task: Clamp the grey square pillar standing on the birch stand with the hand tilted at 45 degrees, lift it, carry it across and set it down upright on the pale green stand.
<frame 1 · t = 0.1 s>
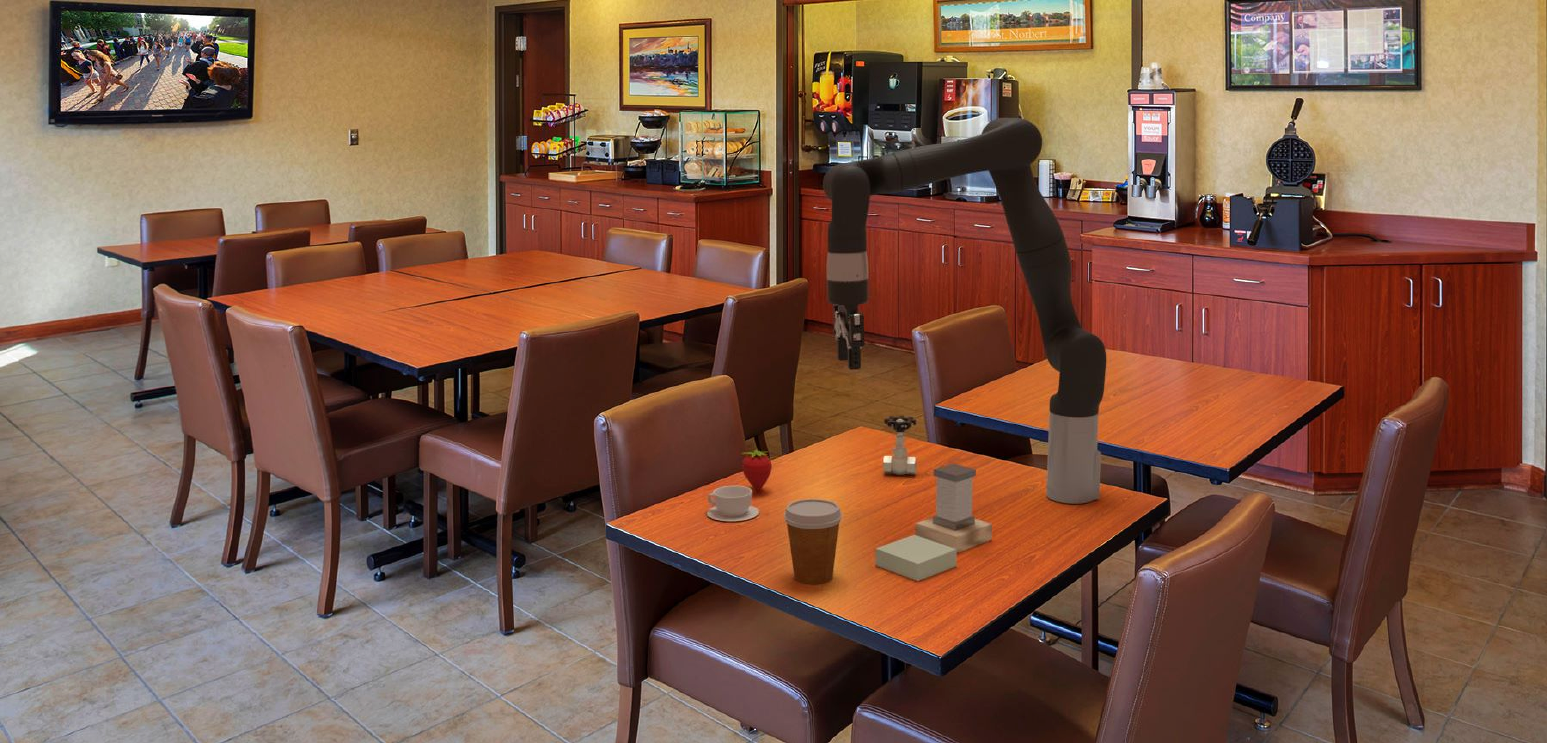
hand: (848, 364, 219), 29 cm above the table, tool pointing down, fingers open, 8 cm apart
teacup: (733, 515, 227), on the table
disposable coffee cup: (813, 578, 196), on the table
stand b: (915, 565, 200), on the table
stand a: (953, 539, 212), on the table
strawberry: (757, 492, 240), on the table
valve: (899, 475, 249), on the table
grey square pillar: (953, 523, 211), point 3 cm above the table, touching stand a
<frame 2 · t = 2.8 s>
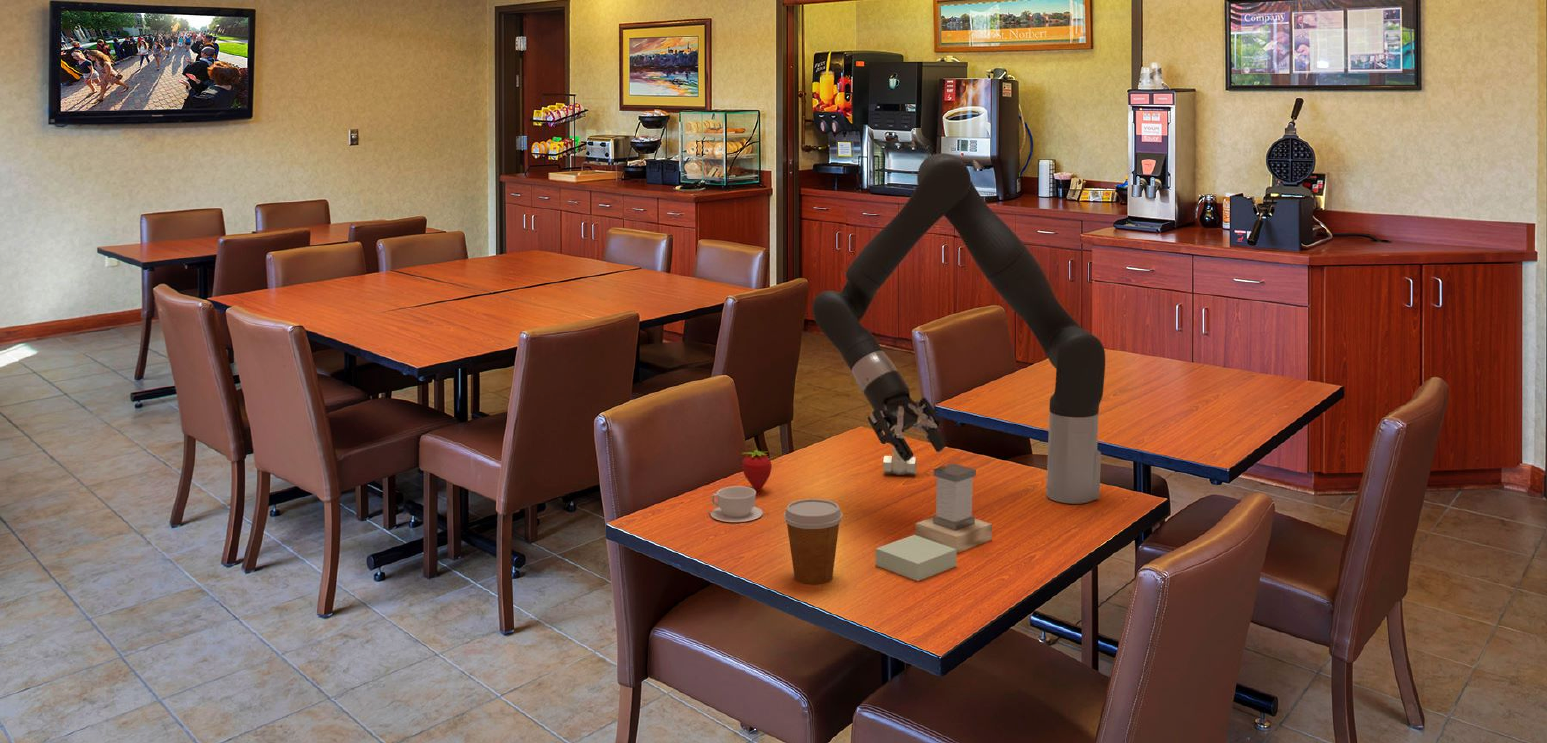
hand: (926, 454, 214), 14 cm above the table, tool tilted 45°, fingers open, 8 cm apart
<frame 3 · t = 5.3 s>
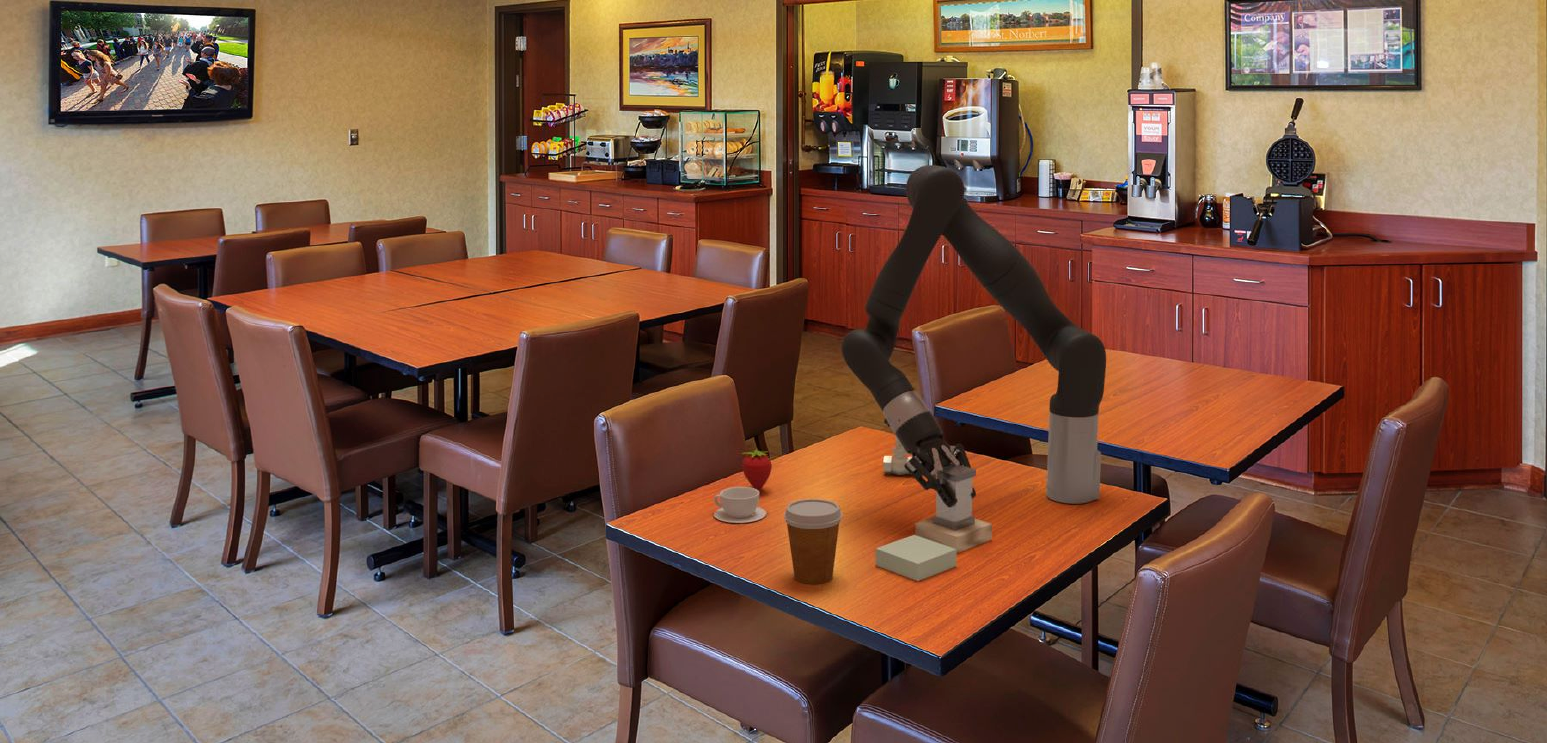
hand: (962, 501, 209), 8 cm above the table, tool tilted 45°, fingers closed on grey square pillar, 4 cm apart
grey square pillar: (953, 523, 211), point 3 cm above the table, touching gripper, stand a
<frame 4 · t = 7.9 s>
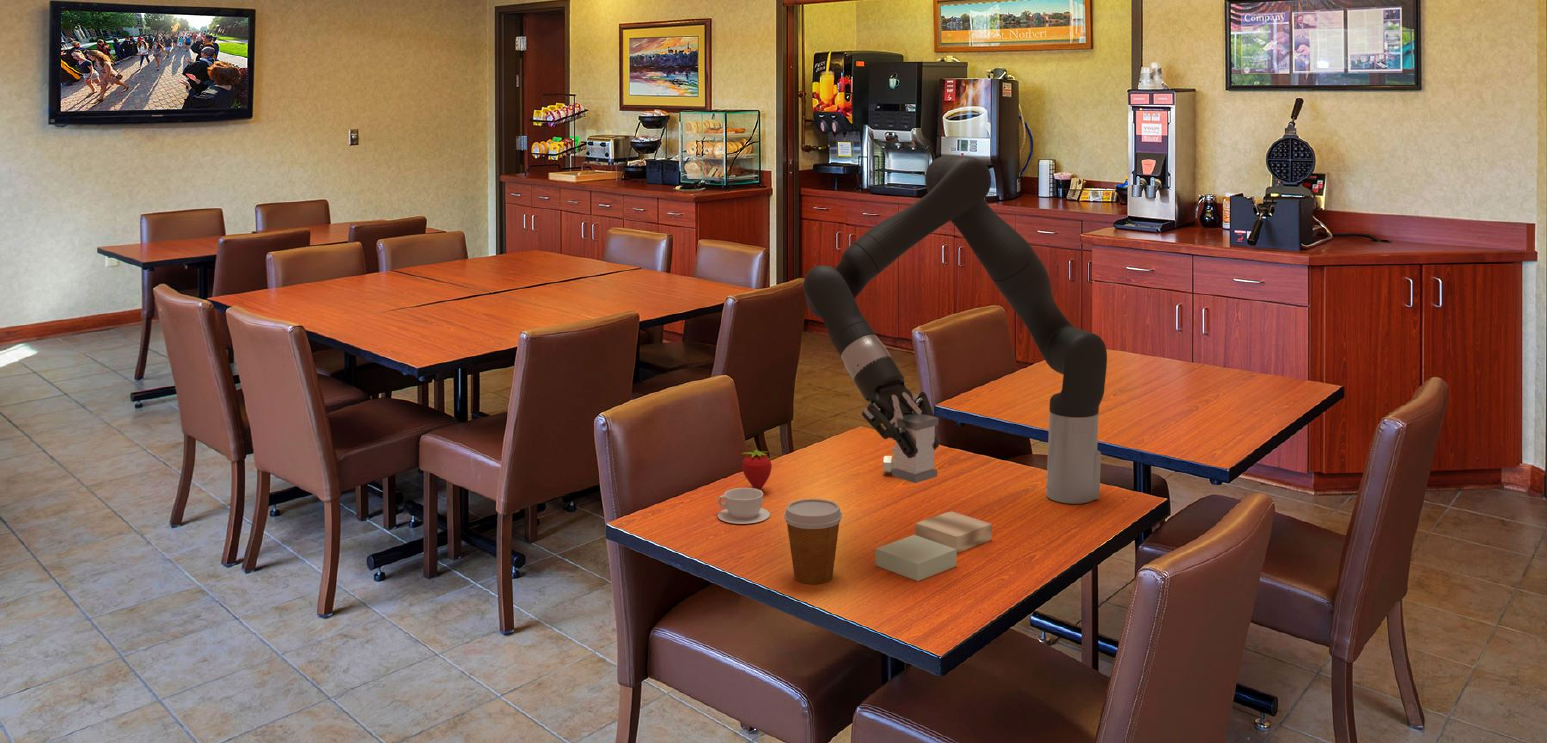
hand: (924, 452, 194), 20 cm above the table, tool tilted 45°, fingers closed on grey square pillar, 4 cm apart
grey square pillar: (914, 476, 197), point 16 cm above the table, touching gripper
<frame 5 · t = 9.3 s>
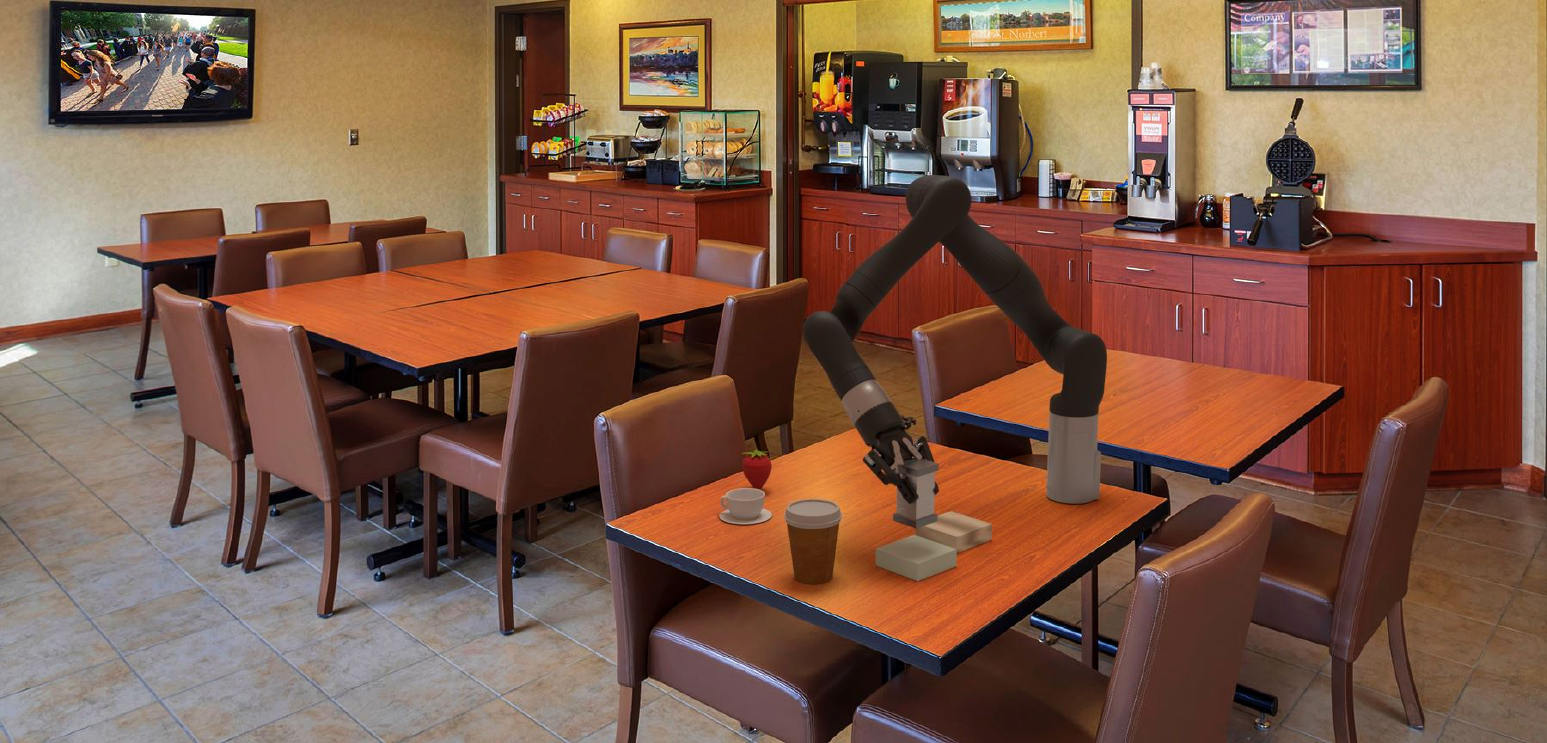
hand: (924, 497, 196), 12 cm above the table, tool tilted 45°, fingers closed on grey square pillar, 4 cm apart
grey square pillar: (915, 521, 198), point 8 cm above the table, touching gripper
when the fingers open (9 cm above the table, at t = 10.5 s): grey square pillar stays where it is, resting on stand b.
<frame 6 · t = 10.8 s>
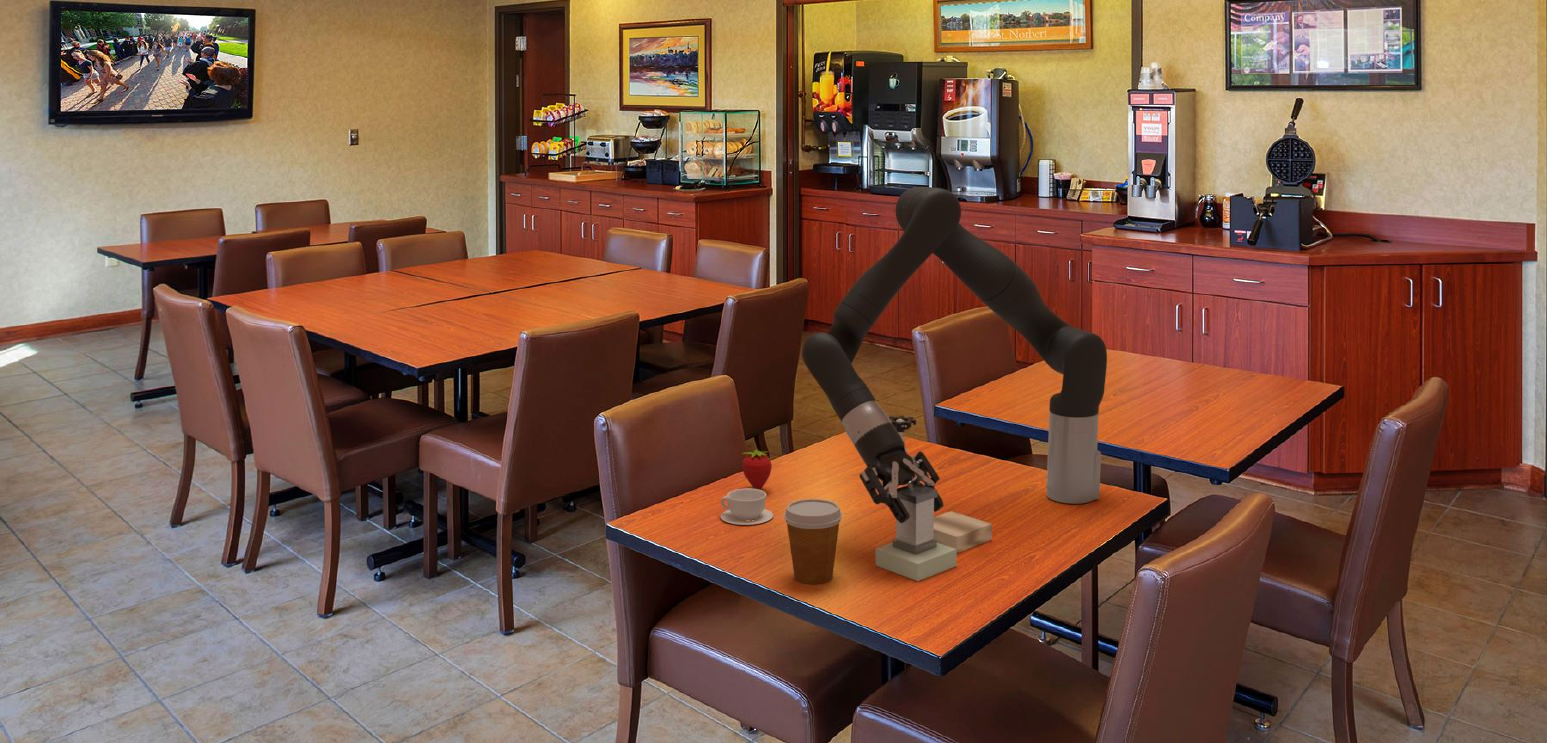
hand: (922, 514, 197), 9 cm above the table, tool tilted 45°, fingers open, 8 cm apart
grey square pillar: (914, 546, 200), point 3 cm above the table, touching stand b
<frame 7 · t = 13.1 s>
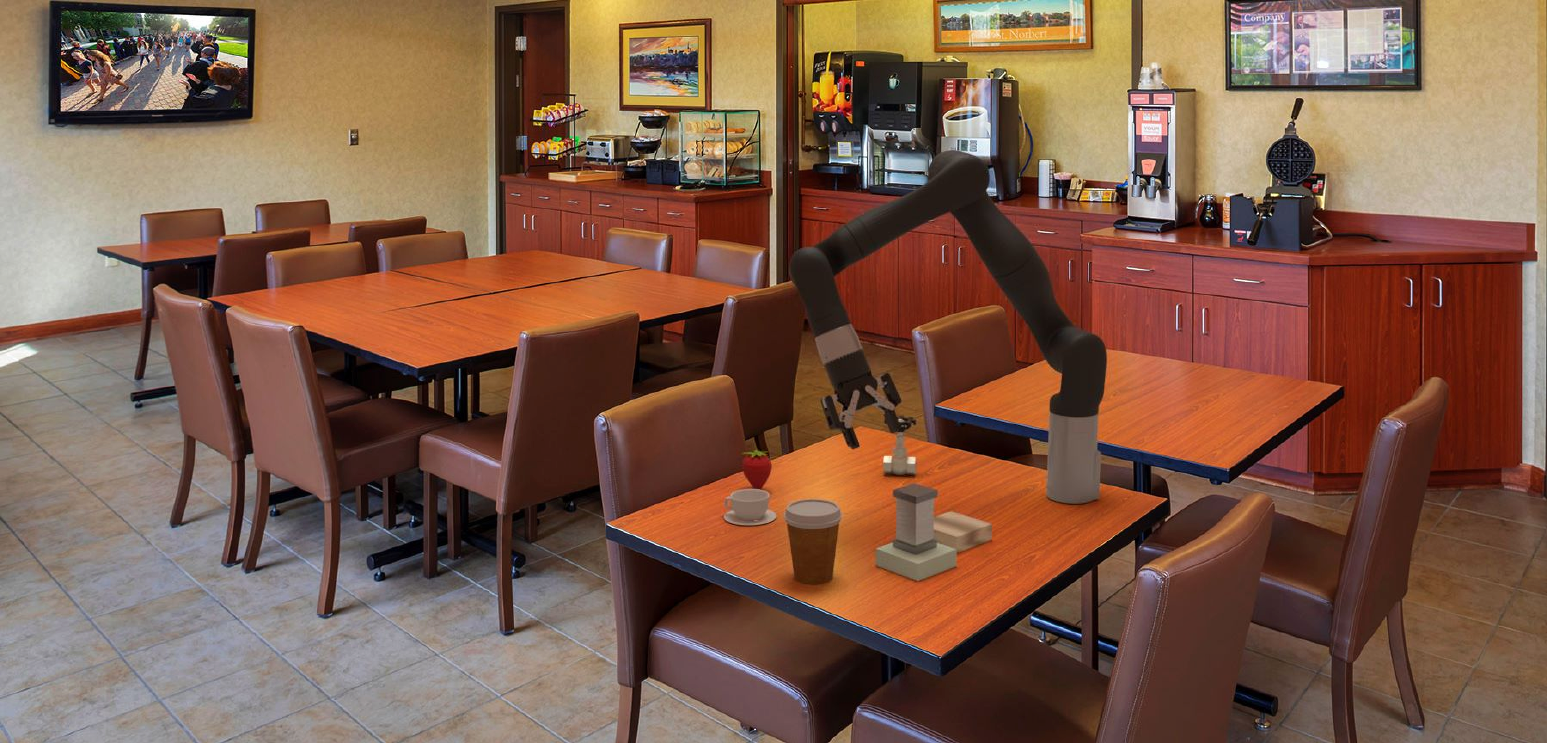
hand: (875, 440, 211), 18 cm above the table, tool tilted 25°, fingers open, 8 cm apart
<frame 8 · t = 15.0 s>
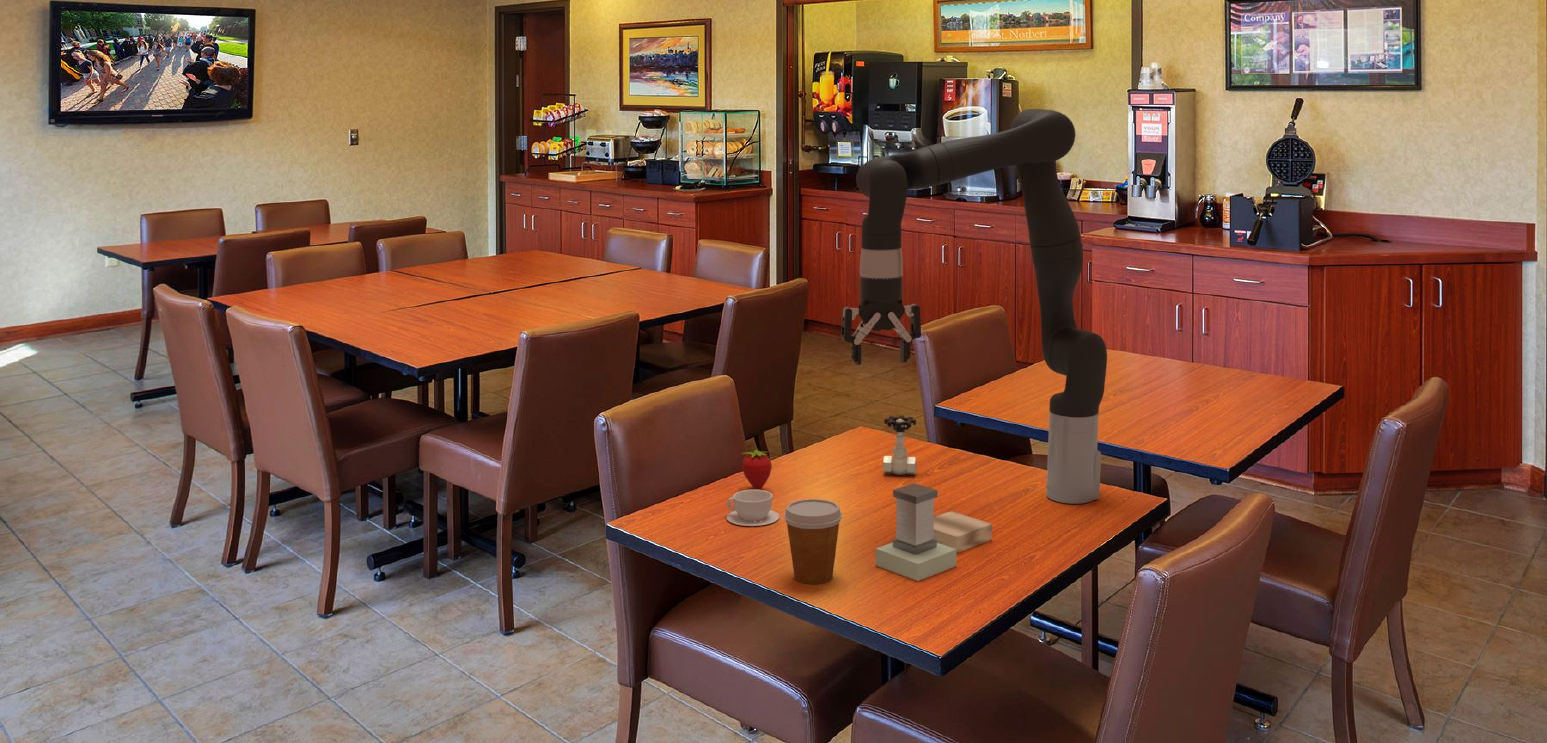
hand: (880, 363, 215), 30 cm above the table, tool pointing down, fingers open, 8 cm apart
at the end: grey square pillar inside the target area on the stand b (1.0 cm from its centre), point 3.0 cm above the stand b's base; grey square pillar tilted 0°; the gripper is holding nothing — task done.
